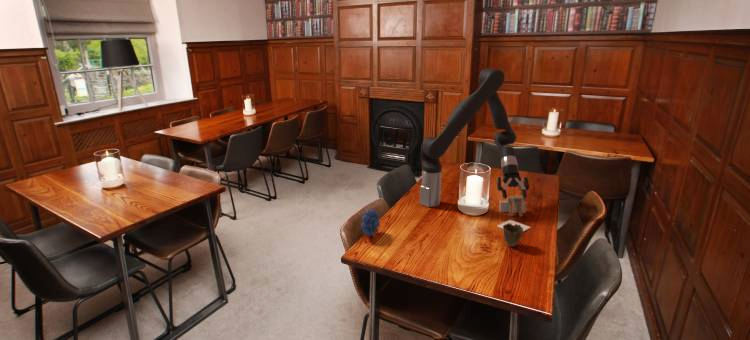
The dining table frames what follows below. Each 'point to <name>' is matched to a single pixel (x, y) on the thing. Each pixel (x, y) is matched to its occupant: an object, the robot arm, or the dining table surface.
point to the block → (505, 208)
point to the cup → (512, 234)
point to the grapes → (370, 222)
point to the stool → (519, 202)
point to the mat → (514, 225)
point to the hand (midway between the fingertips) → (515, 198)
